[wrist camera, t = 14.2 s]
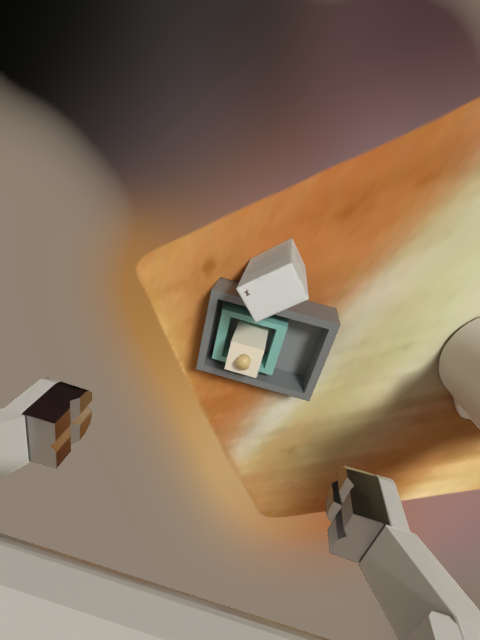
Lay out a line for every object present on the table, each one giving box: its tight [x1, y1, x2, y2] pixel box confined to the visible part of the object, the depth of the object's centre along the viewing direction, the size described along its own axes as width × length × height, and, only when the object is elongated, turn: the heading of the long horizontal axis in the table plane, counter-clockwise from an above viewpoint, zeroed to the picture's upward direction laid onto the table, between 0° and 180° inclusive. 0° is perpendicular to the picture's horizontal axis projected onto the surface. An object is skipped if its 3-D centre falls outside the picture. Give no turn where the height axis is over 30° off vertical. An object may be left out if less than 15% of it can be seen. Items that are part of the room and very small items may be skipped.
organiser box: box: [196, 277, 340, 401], centre depth 44 cm, size 16×12×5 cm
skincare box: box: [236, 238, 309, 322], centre depth 37 cm, size 6×4×12 cm
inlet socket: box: [212, 302, 288, 375], centre depth 44 cm, size 8×8×4 cm
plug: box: [224, 320, 269, 378], centre depth 42 cm, size 4×4×9 cm
